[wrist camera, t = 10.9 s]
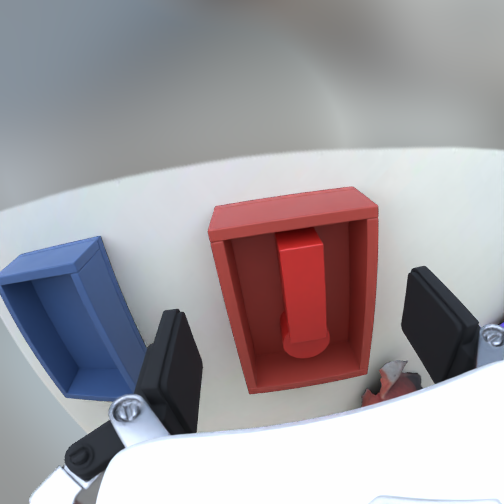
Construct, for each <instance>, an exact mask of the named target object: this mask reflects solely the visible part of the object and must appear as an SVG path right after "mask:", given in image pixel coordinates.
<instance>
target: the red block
mask: <svg viewBox="0 0 504 504" xmlns="http://www.w3.org/2000/svg"><path fill="white" fill-rule="evenodd" d="M274 236H275V243H276V250H277V257H278V265H279V272H280V280H281V287H282V295H283V303H284V311H283V313H282V314H281V316H280V329H281V335H282V342H283V347H284V350H285V351H286V352H287V353H288V354H289V355H290V356H293V357H295V358H310V357H314V356H316V355H318V354H320V353H321V352H322V351H324V350H325V349H326V347H327V346H328V344H329V341H330V334H329V331H328V328H327V318H326V286H325V265H324V248H323V243H322V241H321V239H320V238H319V236H318V234H317V232H316V231H315V229H314V227H308V228H301V229H294V230H287V231H281V232H274Z"/></svg>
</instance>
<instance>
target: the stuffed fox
mask: <svg viewBox="0 0 504 504" xmlns="http://www.w3.org/2000/svg"><path fill="white" fill-rule="evenodd" d="M407 362H408V361H401V360H397V361H393V362H389V363H386V364H385V365H384V366H383V367H382V368H381V369H380V370H379V372H380V374H381V377H382V378H381V379H380V381H381V384H382V386H381V389H380V393H379V392H378V394H377V395H374V393H373V394H372V393H371V391H370V390H368V388H367V389H366V392H365V394H364V395H362V397H361V398H362V407H365V406H369V405H373V404H376V403H380V402H383V401H387V400H390V399H393V398H396V397H400V396H403V395H406V394H409V393H412V392H415V391H418V390H421V389H423V388H422V386H421V376H420V375H418V373H410V372H407V373H402V370H403V368H404V366H405V365H406V363H407Z"/></svg>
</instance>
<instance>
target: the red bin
mask: <svg viewBox="0 0 504 504" xmlns="http://www.w3.org/2000/svg"><path fill="white" fill-rule="evenodd" d="M308 227H314V229H315V231H316V232H317V234H318V236H319V238H320V239H321V241H322V243H323V248H324V265H325V286H326V318H327V328H328V331H329V334H330V341H329V344H328V346H327V347H326V349H325V350H324V351H322V352H321V353H320V354H318V355H316V356H314V357H310V358H295V357H293V356H290V355H289V354H288V353H287V352H286V351H285V350H284V347H283V342H282V335H281V329H280V316H281V314H282V313H283V311H284V303H283V295H282V287H281V280H280V272H279V265H278V257H277V250H276V243H275V236H274V232H281V231H287V230H294V229H301V228H308ZM208 235H209V240H210V242H211V248H212V252H213V257H214V261H215V265H216V269H217V273H218V277H219V282H220V286H221V290H222V294H223V298H224V302H225V306H226V309H227V313H228V317H229V321H230V325H231V329H232V333H233V336H234V340H235V344H236V348H237V351H238V355H239V359H240V362H241V366H242V370H243V373H244V377H245V380H246V384H247V387H248V391H249V394H257V393H265V392H273V391H281V390H287V389H294V388H300V387H306V386H312V385H318V384H323V383H328V382H334V381H338V380H343V379H348V378H352V377H357V376H361V375H366V374H367V372H368V364H369V357H370V349H371V341H372V332H373V322H374V311H375V299H376V284H377V265H378V205H377V204H375V203H374V202H373V201H371V200H370V199H369V198H368V197H366V196H365V195H364V194H362V193H361V192H360V191H358V190H357V189H356V188H354V187H345V188H336V189H328V190H320V191H313V192H305V193H298V194H291V195H284V196H277V197H270V198H264V199H257V200H251V201H245V202H239V203H233V204H227V205H221V206H216V207H215V208H214V212H213V215H212V218H211V222H210V225H209V228H208Z"/></svg>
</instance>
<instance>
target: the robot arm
mask: <svg viewBox="0 0 504 504" xmlns="http://www.w3.org/2000/svg"><path fill="white" fill-rule="evenodd" d="M478 324H479V322H478V320H477V319H476V318H475V317H474V316H473V315H472V314H471V313H470V311H469V310H468V309H467V308H466V307H465V306H464V305H463V304H462V303H461V302H460V301H459V300H458V298H457V297H456V296H455V295H454V294H453V293H452V292H451V291H450V290H449V289H448V288H447V287H446V286H445V285H444V284H443V283H442V282H441V281H440V280H439V279H438V278H437V277H436V276H435V275H434V274H433V273H432V272H431V271H430V270H429V269H428V268H427V267H426V266H421V267H417V268H413V269H412V270H411V272H410V273H409V274H408V279H407V288H406V296H405V303H404V310H403V316H402V322H401V327H402V330H403V332H404V334H405V336H406V337H407V339H408V340H409V342H410V343H411V345H412V347H413V348H414V350H415V352H416V353H417V355H418V356H419V358H420V360H421V361H422V363H423V365H424V366H425V368H426V370H427V371H428V373H429V375H430V377H431V378H432V380H433V382H434V383H435V385H432V386H429V387H426V388H424V389H421V390H418V391H415V392H412V393H409V394H406V395H403V396H400V397H396V398H393V399H390V400H387V401H383V402H380V403H376V404H373V405H369V406H365V407H362V408H358V409H354V410H350V411H346V412H341V413H337V414H332V415H328V416H323V417H318V418H313V419H308V420H303V421H297V422H291V423H285V424H279V425H272V426H264V427H256V428H248V429H238V430H229V431H218V432H204V433H196V432H197V422H198V411H199V400H200V390H201V380H202V370H203V364H202V359H201V357H200V354H199V351H198V349H197V346H196V343H195V341H194V338H193V335H192V332H191V330H190V327H189V324H188V321H187V318H186V315H185V313H184V312H180V311H179V309H173V310H165V311H164V312H163V315H162V318H161V321H160V324H159V327H158V330H157V334H156V337H155V340H154V343H153V344H150V345H149V346H148V348H147V351H146V354H145V357H144V361H143V364H142V367H141V370H140V374H139V377H138V380H137V384H136V387H135V391H134V394H126V395H123V396H120V397H119V398H117V399H116V400H115V401H114V402H113V403H112V404H111V406H110V408H109V413H108V415H109V419H110V420H109V421H107V422H106V423H104V424H103V425H101V426H100V427H98V428H97V429H95V430H94V431H92V432H91V433H89V434H88V435H86V436H85V437H83V438H82V439H80V440H78V441H77V442H75V443H74V444H72V445H71V446H70V447H69V449H68V450H67V451H66V454H65V465H64V466H63V467H61V466H60V465H59V466H58V467H57V468H56V469H55V470H54V471H53V472H52V473H51V474H50V475H49V476H48V477H47V478H46V480H44V481H43V483H42V484H41V485H40V486H39V487H38V488H37V489H36V490H35V491H34V492H33V493H32V495H31V496H30V500H29V504H504V328H503V327H502V326H500V325H497V324H487V325H485V326H483V327H482V328H480V327H479V325H478Z"/></svg>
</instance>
